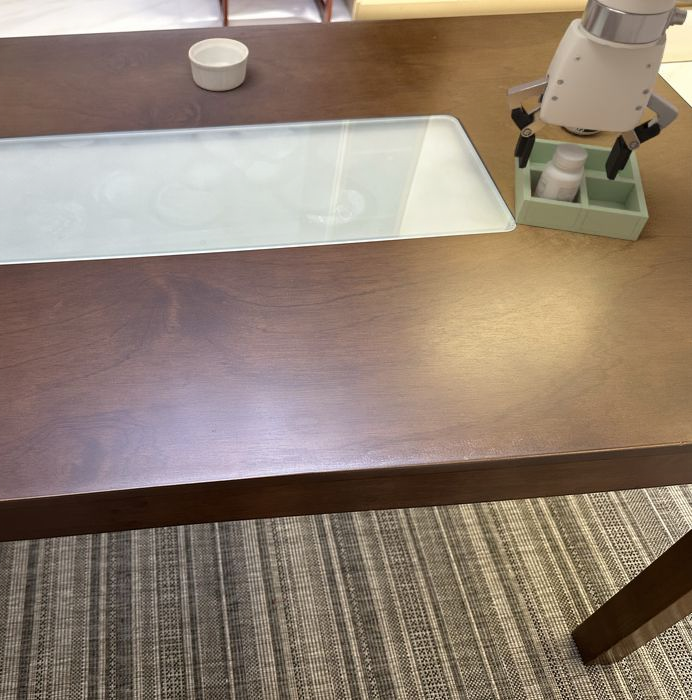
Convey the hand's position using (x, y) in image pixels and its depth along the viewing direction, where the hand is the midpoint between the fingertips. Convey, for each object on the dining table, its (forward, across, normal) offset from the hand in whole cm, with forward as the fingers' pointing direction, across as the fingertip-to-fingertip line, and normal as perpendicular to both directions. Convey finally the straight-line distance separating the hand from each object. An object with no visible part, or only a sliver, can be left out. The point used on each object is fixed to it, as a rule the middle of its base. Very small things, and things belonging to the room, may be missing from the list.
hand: (564, 167), depth 83 cm
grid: (+6, -3, -4) cm, 8 cm away
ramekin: (+6, +47, -22) cm, 52 cm away
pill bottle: (+6, 0, 0) cm, 6 cm away
